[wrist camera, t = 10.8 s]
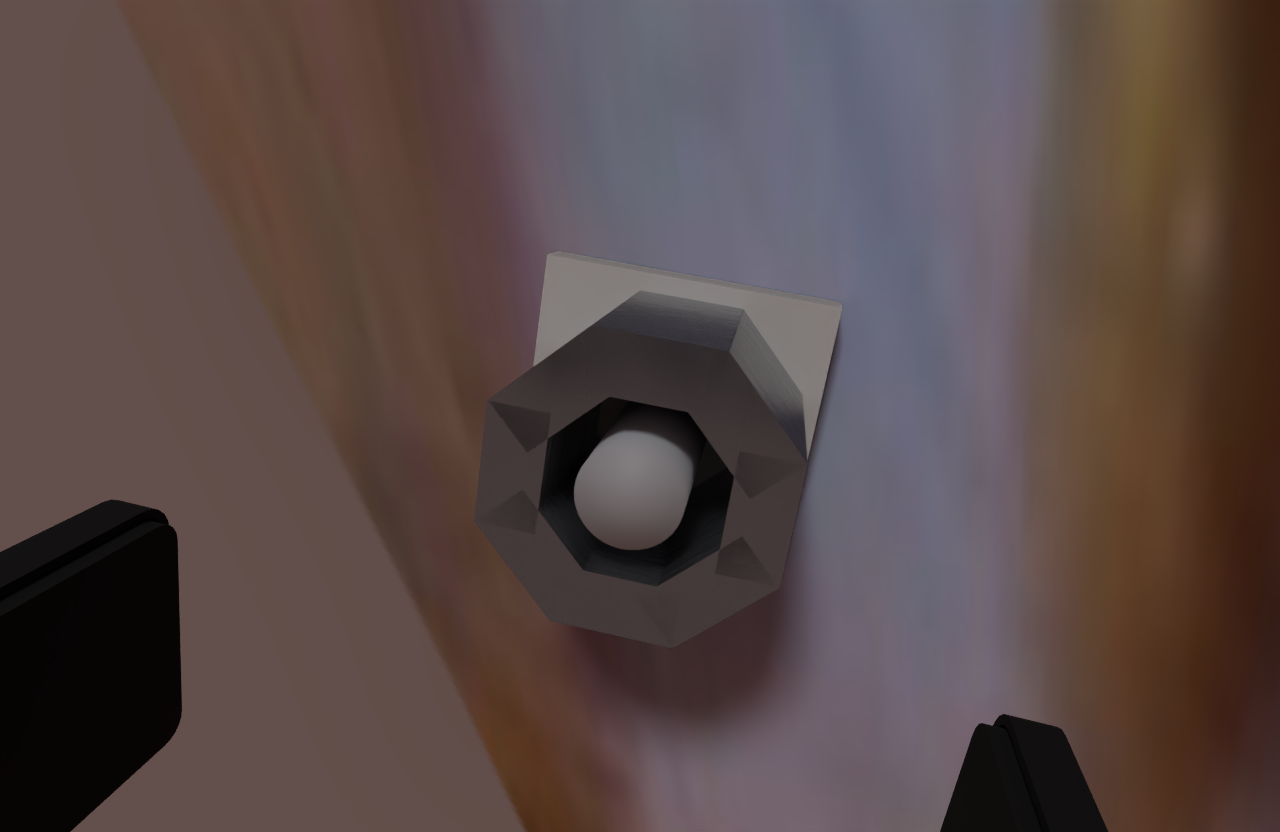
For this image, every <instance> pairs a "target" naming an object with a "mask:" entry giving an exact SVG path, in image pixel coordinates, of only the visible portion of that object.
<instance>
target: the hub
mask: <svg viewBox="0 0 1280 832" xmlns="http://www.w3.org/2000/svg"><path fill="white" fill-rule="evenodd" d="M608 397H614V398H619V399H624V400H629V401H634V402H639V403H644V404H649V405H654V406H659V407H664V408H669V409H674V410H679V411H685V412H688V413H689V414H690V415H691V417H692V418H693V420H694V421H695V422H696V424H697V425H698V427H699V428H700V430H701V431H702V432H703V434H704V435H705V437H706V438H707V439H708V441H709V442H710V444H711V445H712V446H713V448H714V449H715V451H716V452H717V453H718V455H719V456H720V458H721V459H722V461H723V462H724V463H725V465H726V466H727V467H726V468H725V469H723V470H721V471H720V472H718V473H717V474H715V475H713V476H712V477H710V478H708V479H707V480H705V481H704V482H702V483H700V484H699V485H697V486H696V487H694V488H692V489H691V492H690V495H689V498H688V501H687V504H686V508H685V511H684V514H683V517H682V519H681V522H680V524H679V525H678V527H677V529H676V530H675V531H674V532H673V534H672V535H671V536H669V537H668V538H667V539H666V540H664V541H663V542H662V543H660V544H658V545H656V546H653V547H650V548H647V549H642V550H625V549H620V548H616V547H613V546H610V545H608V544H606V543H604V542H602V541H601V540H599V539H598V538H597V537H595V536H594V535H593V534H592V533H591V532H590V531H589V530H588V529H587V528H586V526H585V525H584V524H583V522H582V520H581V519H580V517H579V515H578V512H577V509H576V506H575V501H574V486H575V481H576V478H577V475H578V473H579V471H580V469H581V467H582V466H583V464H584V463H585V462H586V460H587V459H588V458H589V456H590V455H591V453H592V452H593V451H594V449H595V448H596V447H597V445H598V444H599V442H600V441H601V440H602V439H601V438H600V437H599V435H598V434H597V430H598V424H599V417H600V410H601V403H602V401H604V400H605V399H607V398H608ZM807 467H808V460H807V447H806V434H805V421H804V408H803V395H802V393H801V392H800V390H799V389H798V387H797V386H796V385H795V383H794V382H793V380H792V379H791V377H790V376H789V374H788V373H787V371H786V370H785V369H784V367H783V366H782V364H781V363H780V361H779V360H778V358H777V357H776V355H775V354H774V353H773V351H772V350H771V348H770V347H769V345H768V344H767V342H766V341H765V339H764V338H763V337H762V335H761V334H760V332H759V331H758V329H757V328H756V326H755V325H754V323H753V322H752V321H751V319H750V318H749V316H748V315H747V313H746V312H745V310H744V309H741V308H736V307H730V306H725V305H719V304H714V303H708V302H703V301H697V300H692V299H686V298H680V297H675V296H669V295H664V294H658V293H653V292H647V291H642V290H640V291H638V292H637V293H636V294H634V295H633V296H632V297H630V298H629V299H627V300H626V301H625V302H623V303H622V304H620V305H619V306H618V307H616V308H615V309H613V310H612V311H611V312H609V313H608V314H606V315H605V316H604V317H602V318H601V319H599V320H598V321H597V322H595V323H594V324H592V325H591V326H590V327H588V328H587V329H585V330H584V331H583V332H581V333H580V334H579V335H577V336H576V337H574V338H573V339H572V340H570V341H569V342H567V343H566V344H565V345H563V346H562V347H560V348H559V349H558V350H556V351H555V352H554V353H552V354H551V355H549V356H548V357H547V358H545V359H544V360H542V361H541V362H540V363H538V364H537V365H535V366H534V367H533V368H531V369H530V370H528V371H527V372H526V373H524V374H523V375H522V376H520V377H519V378H517V379H516V380H515V381H513V382H512V383H510V384H509V385H508V386H506V387H505V388H503V389H502V390H501V391H499V392H498V393H496V394H495V395H494V396H492V397H491V398H490V399H488V400H487V408H486V417H485V426H484V435H483V445H482V454H481V463H480V472H479V482H478V491H477V500H476V509H475V518H474V521H475V523H476V524H477V526H478V527H479V528H480V530H481V531H482V532H483V534H484V535H485V536H486V537H487V539H488V540H489V541H490V543H491V544H492V545H493V547H494V548H495V549H496V551H497V552H498V553H499V555H500V556H501V557H502V558H503V560H504V561H505V562H506V564H507V565H508V566H509V568H510V569H511V570H512V572H513V573H514V574H515V576H516V577H517V578H518V580H519V581H520V582H521V583H522V585H523V586H524V587H525V589H526V590H527V591H528V593H529V594H530V595H531V597H532V598H533V599H534V601H535V602H536V603H537V604H538V606H539V607H540V608H541V610H542V611H543V612H544V614H545V615H546V616H547V618H548V619H549V620H550V621H554V622H559V623H563V624H567V625H572V626H576V627H580V628H585V629H589V630H593V631H598V632H602V633H606V634H611V635H615V636H619V637H624V638H628V639H632V640H637V641H641V642H645V643H650V644H654V645H658V646H663V647H667V648H671V649H673V648H674V647H676V646H678V645H680V644H682V643H683V642H685V641H687V640H689V639H690V638H692V637H694V636H696V635H698V634H699V633H701V632H703V631H705V630H706V629H708V628H710V627H712V626H714V625H715V624H717V623H719V622H721V621H722V620H724V619H726V618H728V617H730V616H731V615H733V614H735V613H737V612H739V611H740V610H742V609H744V608H746V607H747V606H749V605H751V604H753V603H755V602H756V601H758V600H760V599H762V598H763V597H765V596H767V595H769V594H771V593H772V592H774V591H776V590H778V589H780V586H781V581H782V577H783V572H784V568H785V564H786V559H787V555H788V550H789V546H790V542H791V537H792V533H793V528H794V524H795V520H796V515H797V511H798V506H799V502H800V498H801V493H802V489H803V484H804V480H805V476H806V471H807Z"/></svg>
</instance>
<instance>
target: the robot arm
mask: <svg viewBox="0 0 1280 832" xmlns="http://www.w3.org/2000/svg"><path fill="white" fill-rule="evenodd" d="M181 698H182V695H181V657H180V617H179V579H178V540H177V534H176V531H175V530H174V528H173V527H171V526H170V525H169V523H168V520H167V518H166V516H165V514H164V513H162V512H161V511H159V510H157V509H152V508H148V507H144V506H140V505H136V504H132V503H127V502H124V501H119V500H109V501H105V502H102V503H100V504H98V505H96V506H94V507H92V508H90V509H88V510H86V511H84V512H82V513H80V514H78V515H75V516H74V517H72V518H70V519H67V520H65V521H63V522H61V523H59V524H57V525H55V526H53V527H51V528H49V529H47V530H45V531H43V532H41V533H39V534H36V535H34V536H32V537H30V538H28V539H26V540H24V541H22V542H20V543H18V544H16V545H14V546H12V547H10V548H8V549H6V550H4V551H2V552H0V832H70V831H72V830H73V829H74V828H75V827H76V826H77V825H78V824H79V823H80V822H81V821H82V820H84V819H85V818H86V817H87V816H88V815H89V814H90V813H91V812H92V811H93V810H95V809H96V808H97V807H98V806H99V805H100V804H101V803H102V802H103V801H104V800H106V799H107V798H108V797H109V796H110V795H111V794H112V793H113V792H114V791H115V790H116V789H118V788H119V787H120V786H121V785H122V784H123V783H124V782H125V781H126V780H128V779H129V778H130V777H131V776H132V775H133V774H134V773H135V772H136V771H137V770H138V769H140V768H141V767H142V766H143V765H144V764H145V763H146V762H147V761H148V760H149V759H151V758H152V757H153V756H154V755H155V754H156V753H157V752H158V751H159V750H160V749H162V748H163V746H165V745H166V744H167V743H168V741H169V740H170V739H171V738H172V736H173V735H174V733H175V732H176V729H177V727H178V725H179V722H180V719H181V712H182V699H181ZM940 832H1108V830H1107V828H1106V826H1105V823H1104V821H1103V819H1102V817H1101V814H1100V812H1099V810H1098V808H1097V805H1096V803H1095V801H1094V799H1093V796H1092V794H1091V792H1090V790H1089V787H1088V785H1087V783H1086V780H1085V778H1084V776H1083V774H1082V771H1081V769H1080V767H1079V765H1078V762H1077V760H1076V758H1075V756H1074V753H1073V751H1072V749H1071V747H1070V744H1069V742H1068V740H1067V737H1066V735H1065V734H1064V732H1063V731H1062V729H1060V728H1058V727H1055V726H1051V725H1047V724H1043V723H1039V722H1035V721H1031V720H1026V719H1022V718H1018V717H1014V716H1010V715H1006V714H1003V715H1000V716H999V717H998V718H997V720H996V721H995V723H994V725H993V726H991V725H987V724H983V723H981V724H978V726H977V727H976V728H975V731H974V733H973V735H972V738H971V741H970V744H969V747H968V750H967V753H966V756H965V759H964V762H963V765H962V768H961V771H960V774H959V777H958V780H957V783H956V786H955V789H954V792H953V795H952V798H951V801H950V804H949V807H948V810H947V813H946V816H945V818H944V821H943V824H942V827H941V830H940Z"/></svg>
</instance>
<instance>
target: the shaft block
mask: <svg viewBox="0 0 1280 832" xmlns="http://www.w3.org/2000/svg"><path fill="white" fill-rule="evenodd" d="M640 290H642V291H647V292H653V293H658V294H664V295H669V296H675V297H680V298H686V299H692V300H697V301H703V302H708V303H714V304H719V305H725V306H730V307H736V308H741V309H744V310H745V312H746V313H747V315H748V316H749V318H750V319H751V321H752V322H753V323H754V325H755V326H756V328H757V329H758V331H759V332H760V334H761V335H762V337H763V338H764V339H765V341H766V342H767V344H768V345H769V347H770V348H771V350H772V351H773V353H774V354H775V355H776V357H777V358H778V360H779V361H780V363H781V364H782V366H783V367H784V369H785V370H786V371H787V373H788V374H789V376H790V377H791V379H792V380H793V382H794V383H795V385H796V386H797V387H798V389H799V390H800V392H801V393H802V395H803V408H804V421H805V434H806V447H807V460H808V456H809V452H810V448H811V443H812V439H813V434H814V430H815V426H816V421H817V417H818V413H819V408H820V404H821V399H822V395H823V391H824V386H825V382H826V378H827V373H828V369H829V364H830V360H831V356H832V351H833V347H834V343H835V338H836V334H837V329H838V325H839V321H840V316H841V312H842V306H841V303H840V302H839V301H833V300H828V299H822V298H816V297H811V296H805V295H800V294H794V293H789V292H783V291H777V290H772V289H766V288H761V287H755V286H750V285H744V284H739V283H733V282H727V281H722V280H716V279H711V278H705V277H700V276H694V275H689V274H683V273H677V272H672V271H666V270H661V269H655V268H650V267H644V266H638V265H633V264H627V263H622V262H616V261H611V260H605V259H600V258H594V257H588V256H583V255H577V254H572V253H566V252H561V251H558V252H554V253H551V254H547V262H546V270H545V278H544V286H543V294H542V302H541V310H540V318H539V326H538V334H537V342H536V350H535V358H534V366H535V365H537V364H538V363H540V362H541V361H542V360H544V359H545V358H547V357H548V356H549V355H551V354H552V353H554V352H555V351H556V350H558V349H559V348H560V347H562V346H563V345H565V344H566V343H567V342H569V341H570V340H572V339H573V338H574V337H576V336H577V335H579V334H580V333H581V332H583V331H584V330H585V329H587V328H588V327H590V326H591V325H592V324H594V323H595V322H597V321H598V320H599V319H601V318H602V317H604V316H605V315H606V314H608V313H609V312H611V311H612V310H613V309H615V308H616V307H618V306H619V305H620V304H622V303H623V302H625V301H626V300H627V299H629V298H630V297H632V296H633V295H634V294H636V293H637V292H638V291H640ZM534 366H533V367H534ZM597 434H598V435H599V437H600V438H601V439H602V440H601V441H600V442H599V444H598V445H597V447H596V448H595V449H594V451H593V452H592V453H591V455H590V456H589V458H588V459H587V460H586V462H585V463H584V464H583V466H582V467H581V469H580V471H579V473H578V475H577V478H576V481H575V486H574V501H575V506H576V509H577V512H578V515H579V517H580V519H581V520H582V522H583V524H584V525H585V526H586V528H587V529H588V530H589V531H590V532H591V533H592V534H593V535H594V536H595V537H597V538H598V539H599V540H601V541H602V542H604V543H606V544H608V545H610V546H613V547H616V548H620V549H625V550H642V549H647V548H650V547H653V546H656V545H658V544H660V543H662V542H663V541H664V540H666V539H667V538H668V537H669V536H671V535H672V534H673V532H674V531H675V530H676V529H677V527H678V525H679V524H680V522H681V519H682V517H683V514H684V511H685V508H686V504H687V501H688V498H689V495H690V492H691V489H692V488H694V487H696V486H697V485H699V484H700V483H702V482H704V481H705V480H707V479H708V478H710V477H712V476H713V475H715V474H717V473H718V472H720V471H721V470H723V469H725V468H726V467H727V466H726V465H725V463H724V462H723V461H722V459H721V458H720V456H719V455H718V453H717V452H716V451H715V449H714V448H713V446H712V445H711V444H710V442H709V441H708V439H707V438H706V437H705V435H704V434H703V432H702V431H701V430H700V428H699V427H698V425H697V424H696V422H695V421H694V420H693V418H692V417H691V415H690V414H689V413H688V412H685V411H679V410H674V409H669V408H664V407H659V406H654V405H649V404H644V403H639V402H634V401H629V400H624V399H619V398H614V397H608V398H607V399H605V400H604V401H602V403H601V410H600V417H599V424H598V430H597Z"/></svg>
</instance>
